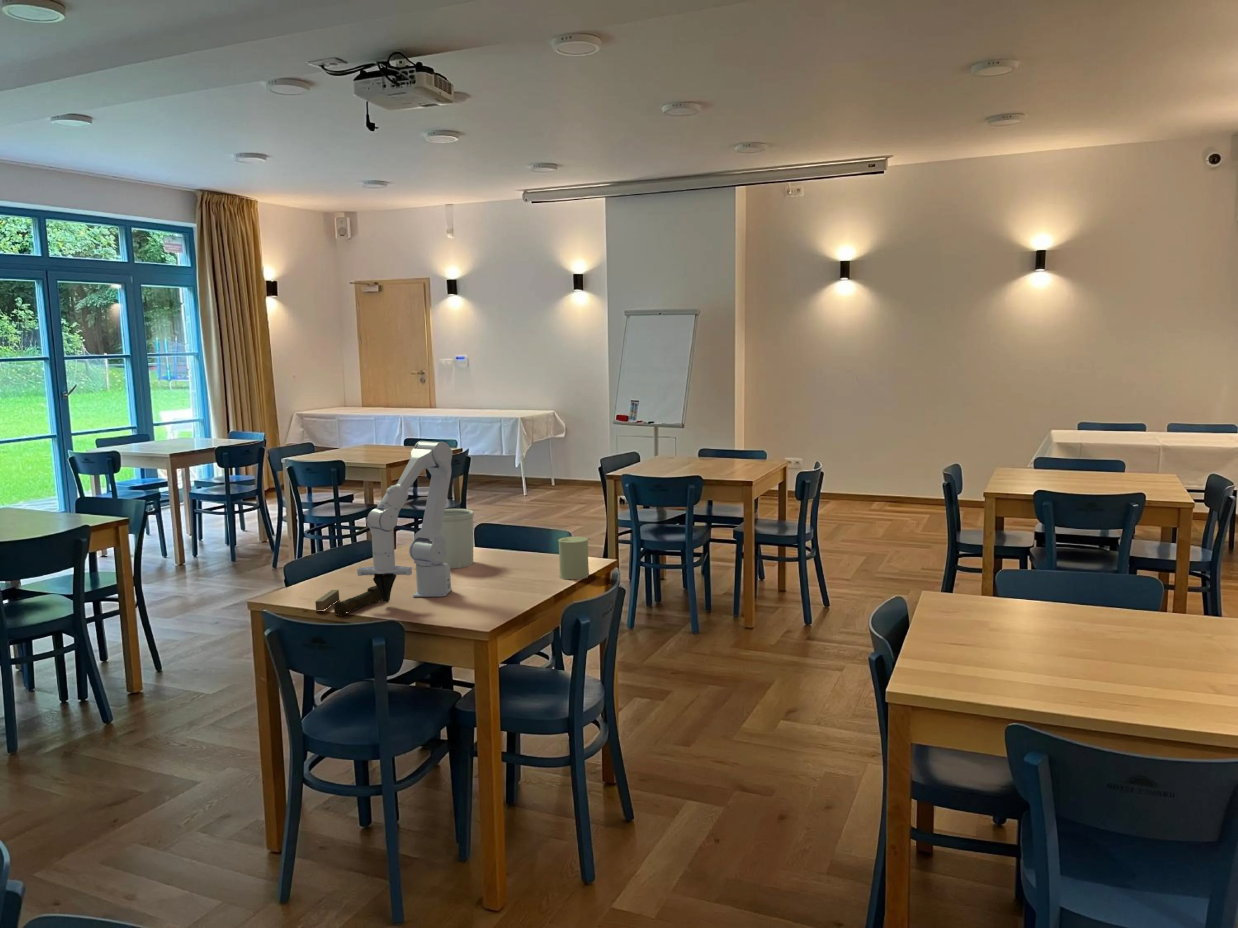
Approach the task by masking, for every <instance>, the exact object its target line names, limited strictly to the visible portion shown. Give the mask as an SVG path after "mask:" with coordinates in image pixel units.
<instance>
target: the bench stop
mask: <svg viewBox="0 0 1238 928" xmlns="http://www.w3.org/2000/svg"><path fill="white" fill-rule="evenodd" d="M338 600H339V601H340V590H339V589H331V590H329V591H328V592H327V593H325V594H324V595H322V596H321V597H320V598H318V599H316V601H315V602H314V603H315V611H316V610H324V609H326V608H328V607H329V606H330V605H332V604H333V603H335V602H336V601H338ZM339 601H338V602H339ZM336 603H337V602H336ZM332 606H333V605H332ZM328 609H329V608H328Z"/></svg>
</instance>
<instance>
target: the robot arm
mask: <svg viewBox="0 0 1238 928" xmlns="http://www.w3.org/2000/svg"><path fill="white" fill-rule="evenodd" d="M453 454H454V451H453V450H452V449H451V447H450V445H449V444H448V443H447V442H445V441H428V440H427V441H426V440H419V441H417V442H416V443H415V444H414V447H413V448H412V450H410V459H409V460H408V463H407V464H406V466H405V468H404V469H403V472H402V473H401V476H400V477H399V479H398V481H397V482H396V484H394V485H390V486H389V487H387V489H386V490H385V494H384V495H383V497H382V499H380V501H379V502H378V504H377V506H376V507H375V508H374V509H372V510H370V512H368V515H367V519H365V522H366V525H367V527H368V528H369V531H370V535H371V546H372V547H371V548H372V560H373V563H372V564H373V566H365V567H363V566H362V567H358V568H357V572H356V573H357V577H362V576H373V578H372V581H373V582H374V583H375V586H376V585H377V587H378V589H379V591H380V594H381V597H382V600H381V601H382V602H383V603H385V602H389V601H390V599H391V592H392V588H393V585H394V583H395V580H396V578H397V576H404V575H405V576H411V575H412V573H413V571H412V570H413V568H412V566H399V565H396V557H395V542H394V540H395V538H394V528H395V527H396V526H397V525H398V519H399V518H398V517H399V514H400V511H401V509H402V508H403V506H404V505H405V503H406V502H407V500H408V499H409V493H408V491H409V489H410V488H411V486H412V485H413V484H414V482H415V481H416V479H418V477H419V475H420V474H421V473H422V471H423V470H426V469H427V471H428V472H429V474H430V476H431V477H430V480H429V487H428V491H427V499H426V501H425V502H426V503H425V504H426V505H425V510H424V514H423V520H422V524H421V529H420V530H418V531H417V532H416V533H415V534H414V536H413V541H412V542H411V543H410V546H409V550H408V554H409V556H410V558H411V559H412V560H413V564H415V576H416V577H415V578H416V591H415V593H413V594H412V597H414V598H417V597H418V598H419V597H420V598H423V597H428V598H429V597H431V598H432V597H434V598H437V597H447V595H448V594H449V593H450V592H451V591H452V589H453V588H452V581H451V580H452V579H451V569H450V566H449V564H447V563H443V560H444V559H445V557H446V538H445V537H444V536H443V534H442V533H441V527H442V522H443V516H444V511H445V509H446V504H447V499H448V493H449V488H450V483H451V477H452V459H453ZM430 539H431V540H432V541H430Z"/></svg>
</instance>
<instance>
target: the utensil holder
mask: <svg viewBox="0 0 1238 928" xmlns="http://www.w3.org/2000/svg"><path fill="white" fill-rule="evenodd" d="M474 515H475V514H474V510H471V509H467V508H445V511H444V516H443V522H442V527H441V533H442V534H443V536H444V537H445V538H446V557H445V559H444V560H443V563H447V564H449V566H450V570H452V569H453V570H455V569H464V568H467V567H470V566H472V565H473V564H474ZM429 541H432V540H431V539H429Z"/></svg>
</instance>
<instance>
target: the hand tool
mask: <svg viewBox="0 0 1238 928" xmlns="http://www.w3.org/2000/svg"><path fill="white" fill-rule="evenodd" d="M366 590H367V591H365V592H362V593H361V594H358V595H354V596H353V597H350V598H349V597H348V598H347V599H345V600H342V601H338V602H336V603H335V604H334V605H333V613H334V614H335V615H336V614H337V615H336V616H340V615H344V614H345V615H347V614H346V612H349V613H350V612H352V611H354V610H357V609H360V608H362V607H365V606H366V605H369V604H377V603H379V601H380V602H381V601H383V600H382V597H381V594H380V591H379V589H378V587H377V585H376V584H375V585H374V586H370V587H368V588H367V589H366ZM338 614H339V615H338ZM345 615H344V616H345ZM340 617H341V616H340Z"/></svg>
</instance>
